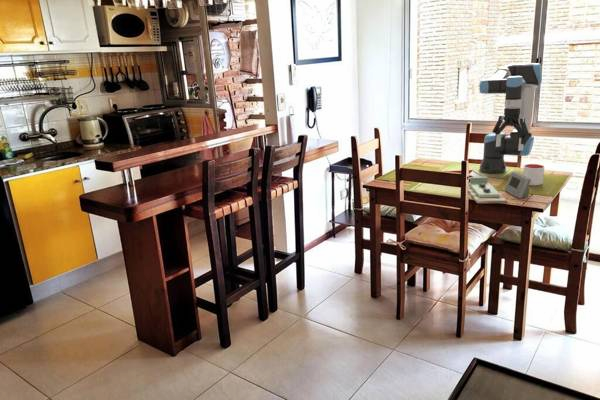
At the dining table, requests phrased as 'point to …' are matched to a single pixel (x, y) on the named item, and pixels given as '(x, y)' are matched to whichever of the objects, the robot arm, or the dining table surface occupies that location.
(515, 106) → the robot arm
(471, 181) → the panel
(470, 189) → the board
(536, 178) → the cup
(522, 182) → the digital clock
